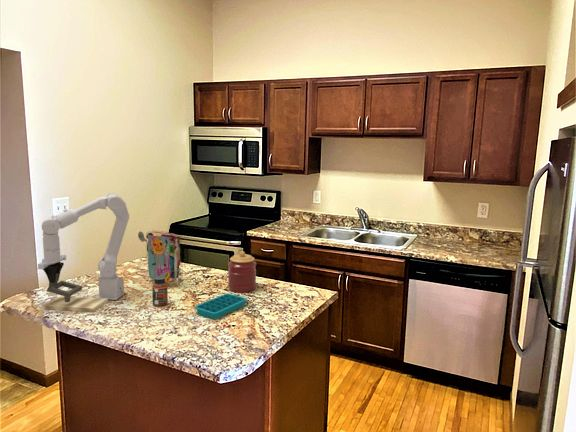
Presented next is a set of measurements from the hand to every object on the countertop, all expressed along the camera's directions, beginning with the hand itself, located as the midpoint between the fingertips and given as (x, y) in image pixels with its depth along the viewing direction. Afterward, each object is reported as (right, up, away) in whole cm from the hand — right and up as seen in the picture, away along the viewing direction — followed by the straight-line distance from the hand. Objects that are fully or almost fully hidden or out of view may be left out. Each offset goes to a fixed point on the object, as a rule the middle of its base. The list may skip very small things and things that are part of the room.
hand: (54, 281), depth 169 cm
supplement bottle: (+41, -10, +4) cm, 43 cm away
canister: (+73, -7, +26) cm, 78 cm away
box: (+32, -5, +32) cm, 45 cm away
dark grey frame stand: (+4, -4, 0) cm, 6 cm away
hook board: (+9, -10, +1) cm, 13 cm away
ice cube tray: (+67, -12, +1) cm, 68 cm away
